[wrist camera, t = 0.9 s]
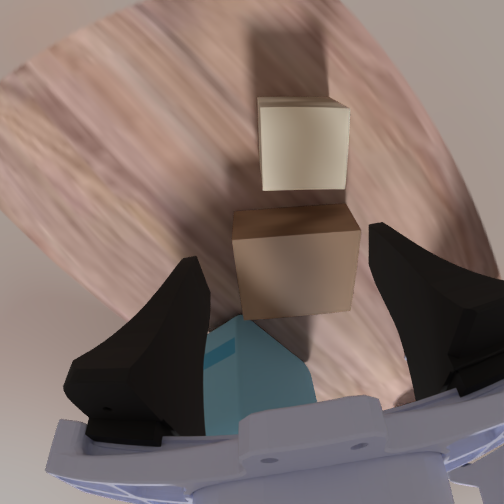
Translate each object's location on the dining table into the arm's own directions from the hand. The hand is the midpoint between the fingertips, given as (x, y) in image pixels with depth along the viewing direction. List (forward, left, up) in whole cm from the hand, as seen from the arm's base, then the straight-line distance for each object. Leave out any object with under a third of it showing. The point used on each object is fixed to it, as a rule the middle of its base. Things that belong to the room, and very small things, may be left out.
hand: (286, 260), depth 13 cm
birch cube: (-2, -3, -10) cm, 10 cm away
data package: (+1, +18, -10) cm, 20 cm away
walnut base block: (-2, +6, -10) cm, 12 cm away
